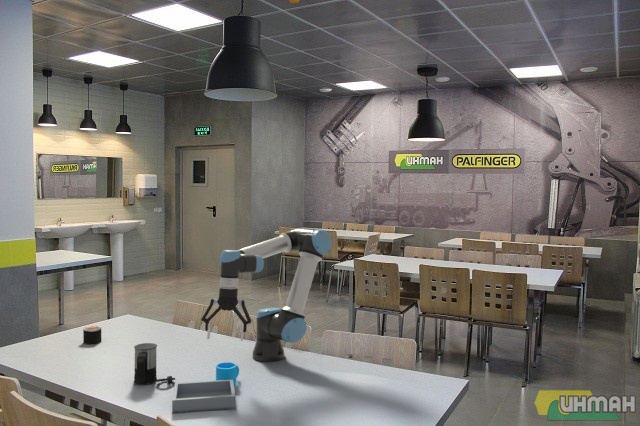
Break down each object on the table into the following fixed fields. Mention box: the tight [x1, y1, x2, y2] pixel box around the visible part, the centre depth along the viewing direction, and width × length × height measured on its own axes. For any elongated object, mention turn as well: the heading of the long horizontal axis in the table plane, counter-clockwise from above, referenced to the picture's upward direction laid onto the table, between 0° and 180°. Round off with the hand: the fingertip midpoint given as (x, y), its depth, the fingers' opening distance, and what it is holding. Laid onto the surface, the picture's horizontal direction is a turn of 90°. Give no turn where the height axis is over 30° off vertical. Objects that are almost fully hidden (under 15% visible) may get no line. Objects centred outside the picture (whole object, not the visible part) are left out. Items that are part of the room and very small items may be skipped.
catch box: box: [171, 379, 236, 415], centre depth 194 cm, size 22×17×5 cm
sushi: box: [82, 325, 103, 346], centre depth 267 cm, size 8×8×8 cm
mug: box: [215, 361, 240, 388], centre depth 213 cm, size 12×8×8 cm
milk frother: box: [133, 342, 176, 386], centre depth 213 cm, size 14×16×15 cm
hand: (225, 339), depth 214 cm, fingers open, 13 cm apart
